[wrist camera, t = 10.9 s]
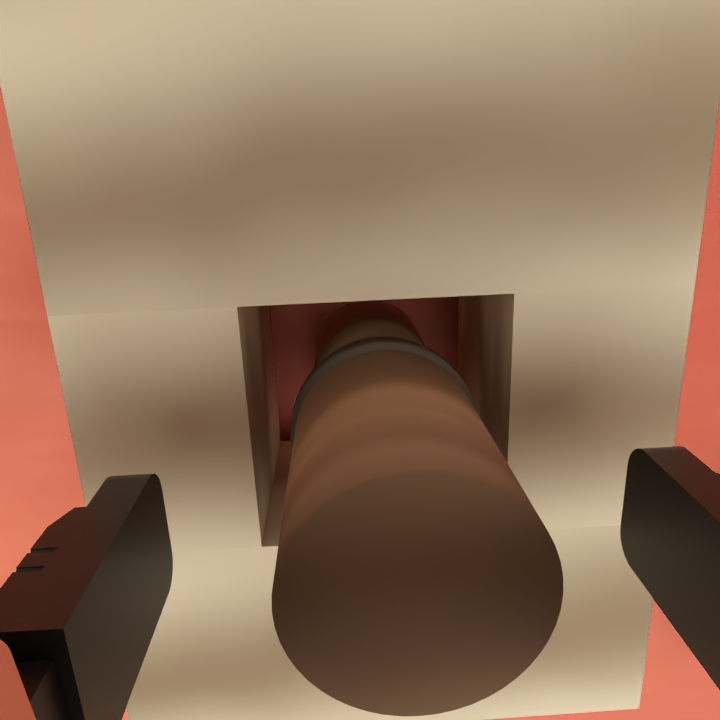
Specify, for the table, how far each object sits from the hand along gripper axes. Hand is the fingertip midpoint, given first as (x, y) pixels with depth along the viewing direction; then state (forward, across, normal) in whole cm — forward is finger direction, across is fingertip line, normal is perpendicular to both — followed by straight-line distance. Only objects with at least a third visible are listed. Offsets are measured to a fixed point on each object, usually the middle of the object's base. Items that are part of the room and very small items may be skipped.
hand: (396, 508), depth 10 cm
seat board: (+10, 0, 0) cm, 10 cm away
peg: (+10, 0, 0) cm, 10 cm away
